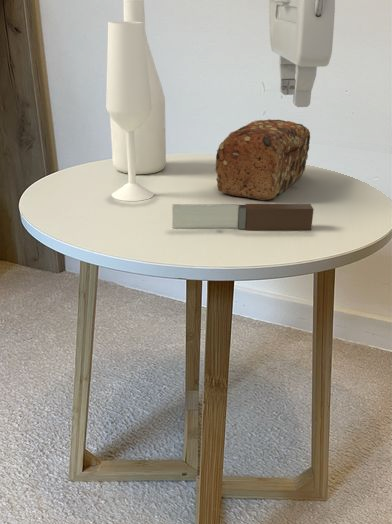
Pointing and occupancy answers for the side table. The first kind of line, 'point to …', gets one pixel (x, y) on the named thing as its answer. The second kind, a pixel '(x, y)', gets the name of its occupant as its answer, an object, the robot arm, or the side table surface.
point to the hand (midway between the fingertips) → (293, 99)
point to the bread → (262, 158)
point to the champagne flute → (128, 94)
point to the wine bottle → (153, 128)
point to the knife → (243, 216)
